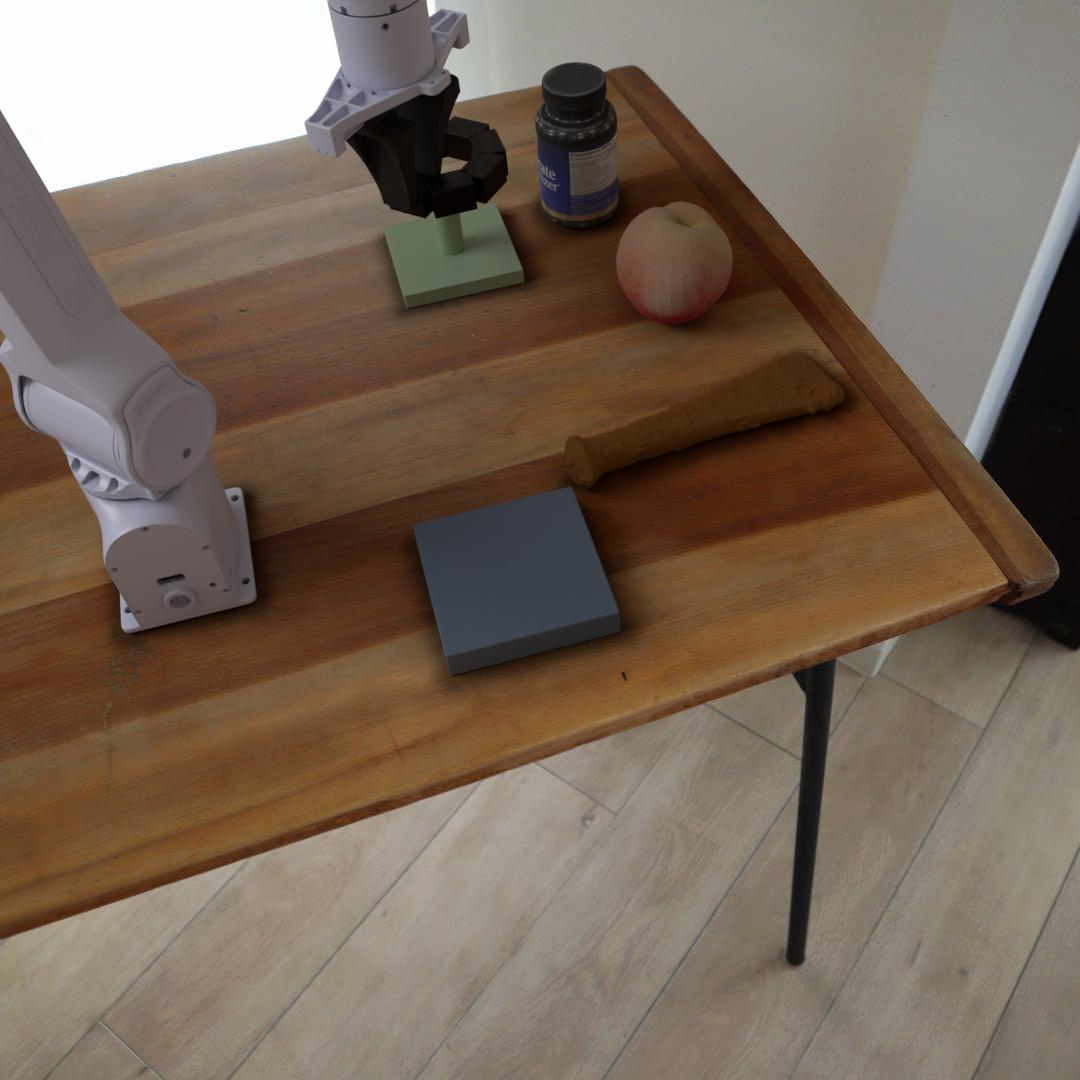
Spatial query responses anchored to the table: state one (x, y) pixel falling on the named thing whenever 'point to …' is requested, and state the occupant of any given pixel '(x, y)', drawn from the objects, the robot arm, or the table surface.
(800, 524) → the table surface
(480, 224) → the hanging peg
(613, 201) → the pill bottle
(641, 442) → the primitive tool
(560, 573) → the gray square coaster
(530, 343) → the table surface
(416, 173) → the black segmented ring
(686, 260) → the fruit
